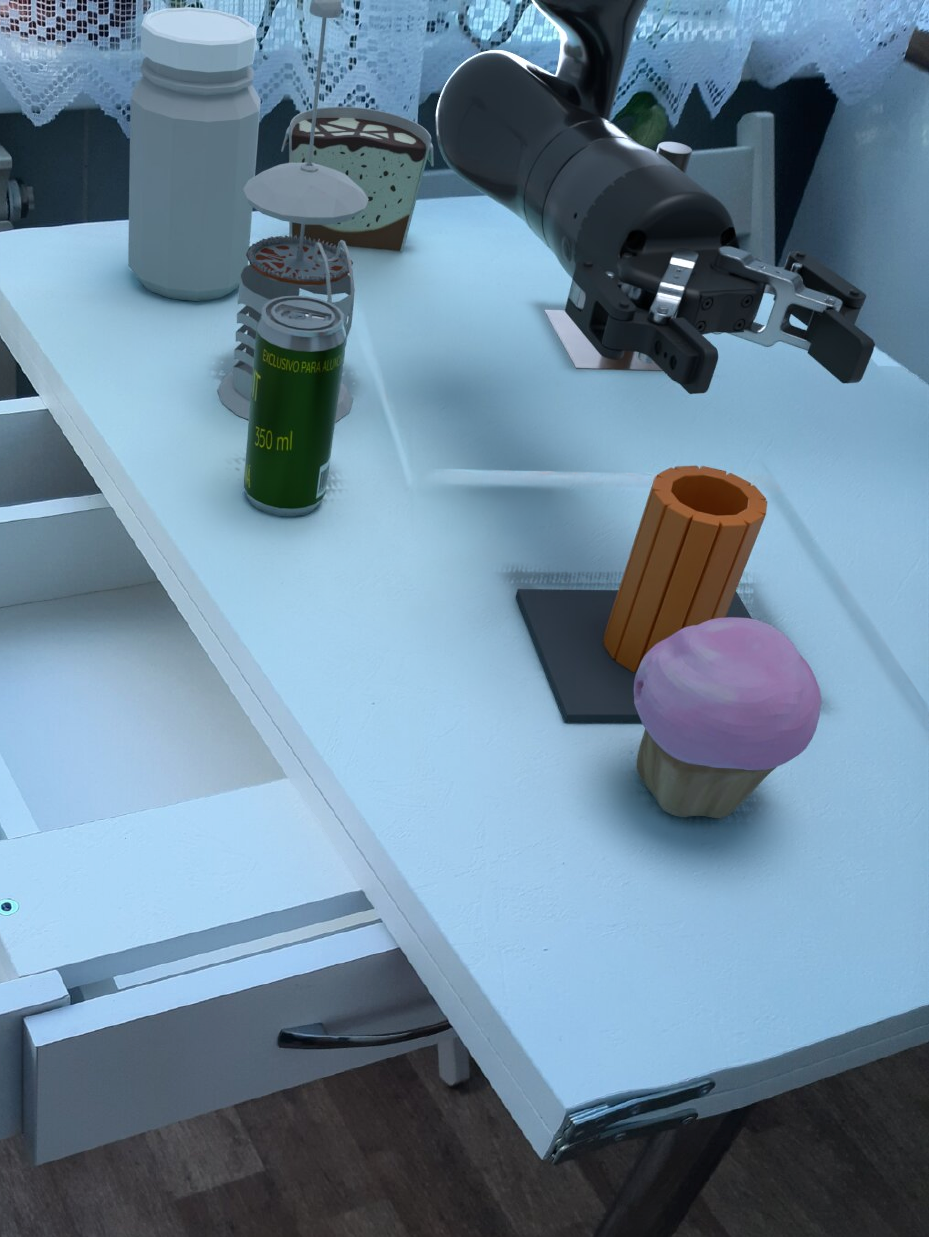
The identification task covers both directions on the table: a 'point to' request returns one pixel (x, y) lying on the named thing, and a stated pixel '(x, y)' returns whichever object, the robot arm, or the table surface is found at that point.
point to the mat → (584, 652)
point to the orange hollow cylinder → (683, 558)
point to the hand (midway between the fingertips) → (785, 370)
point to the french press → (295, 247)
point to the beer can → (293, 404)
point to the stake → (572, 335)
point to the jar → (192, 153)
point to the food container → (365, 170)
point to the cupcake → (721, 713)
